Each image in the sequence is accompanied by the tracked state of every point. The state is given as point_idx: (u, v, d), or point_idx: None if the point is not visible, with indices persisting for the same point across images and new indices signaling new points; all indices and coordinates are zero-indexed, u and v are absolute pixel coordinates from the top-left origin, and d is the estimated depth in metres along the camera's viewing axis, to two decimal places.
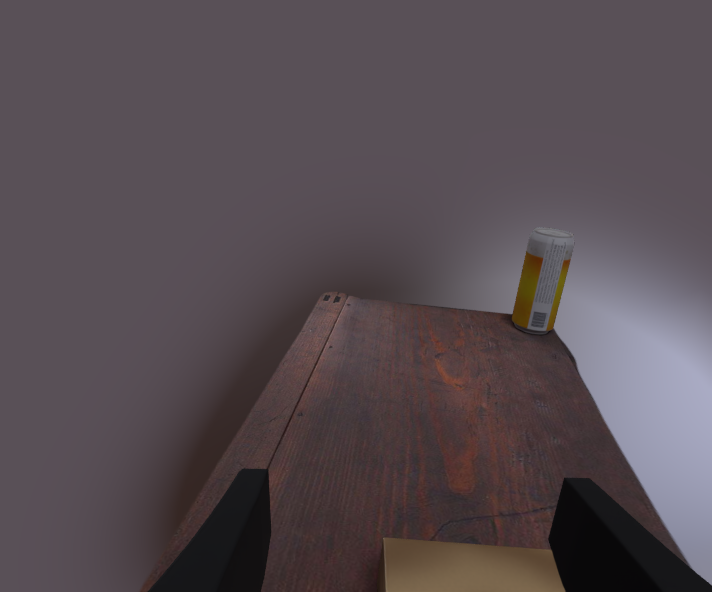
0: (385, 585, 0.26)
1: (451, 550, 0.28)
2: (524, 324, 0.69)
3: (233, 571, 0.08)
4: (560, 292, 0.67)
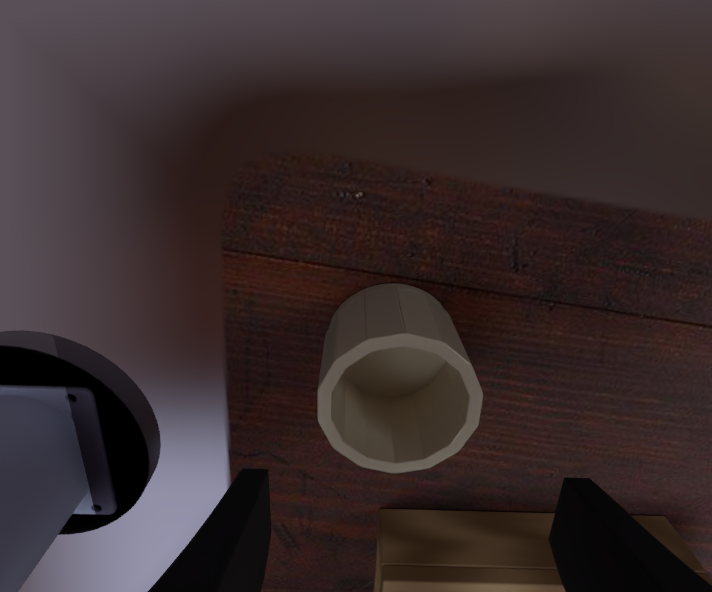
0: None
1: None
2: None
3: (233, 571, 0.08)
4: None
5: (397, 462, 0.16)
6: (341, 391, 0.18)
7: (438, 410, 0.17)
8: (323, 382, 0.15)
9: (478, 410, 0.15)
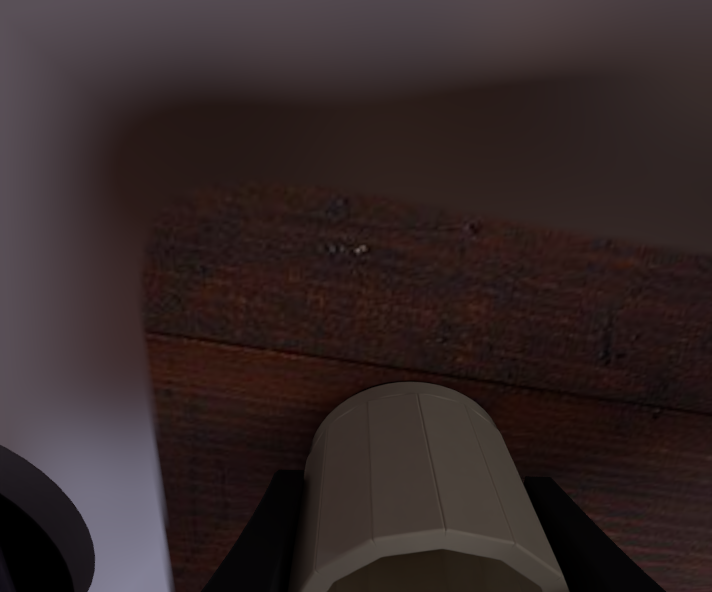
0: None
1: None
2: None
3: (280, 573, 0.08)
4: None
5: None
6: None
7: (486, 591, 0.11)
8: None
9: None
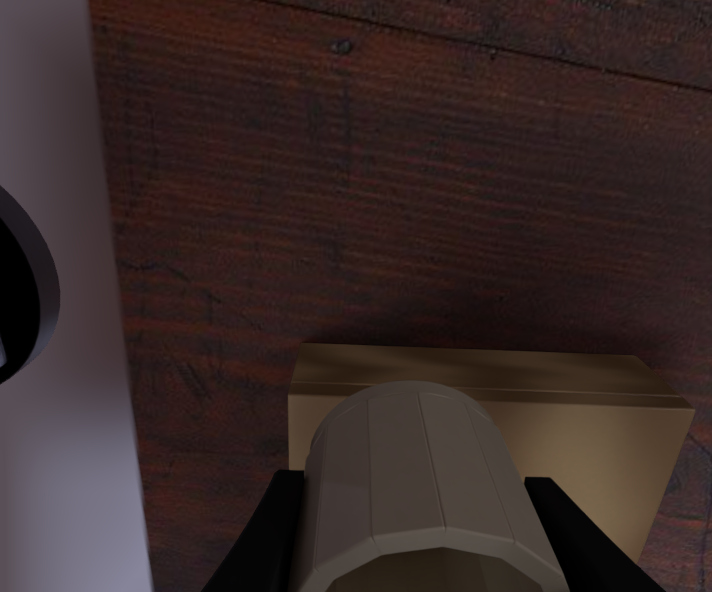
0: (605, 404, 0.16)
1: (646, 500, 0.17)
2: None
3: (279, 573, 0.08)
4: None
5: None
6: None
7: (486, 589, 0.11)
8: None
9: None
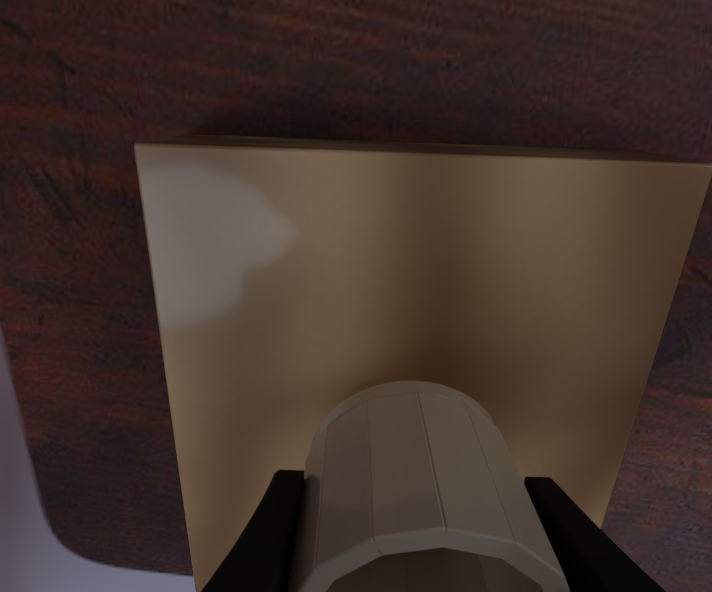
0: (586, 159, 0.11)
1: (645, 318, 0.13)
2: None
3: (280, 573, 0.08)
4: None
5: None
6: None
7: (486, 590, 0.11)
8: None
9: None
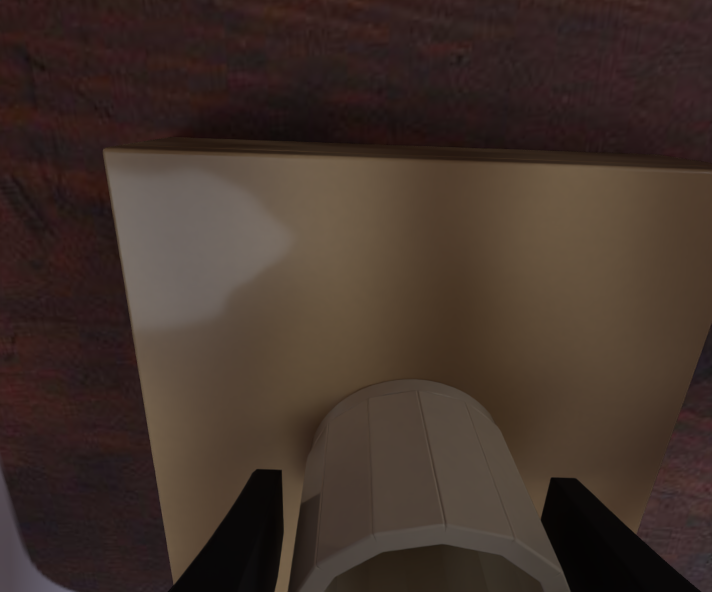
0: (618, 166, 0.10)
1: (680, 344, 0.11)
2: None
3: (251, 571, 0.08)
4: None
5: None
6: None
7: (485, 587, 0.11)
8: None
9: None
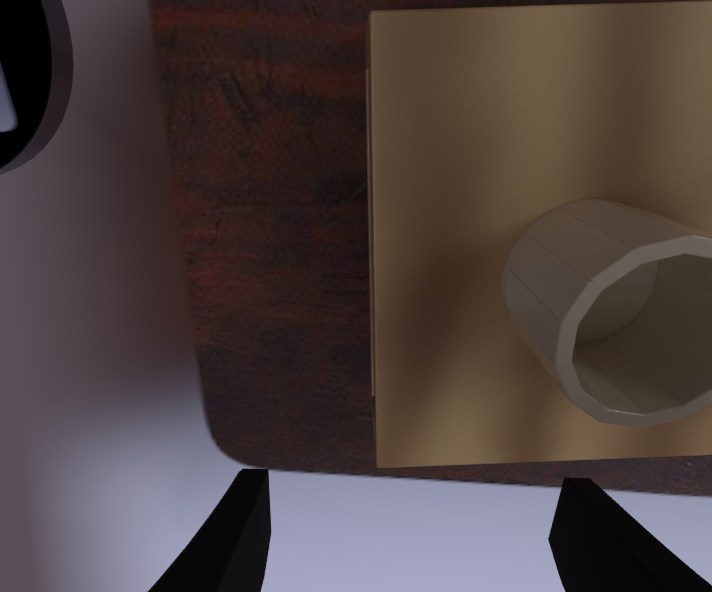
0: None
1: None
2: None
3: (233, 571, 0.08)
4: None
5: (643, 414, 0.13)
6: None
7: (668, 349, 0.14)
8: (570, 311, 0.11)
9: None
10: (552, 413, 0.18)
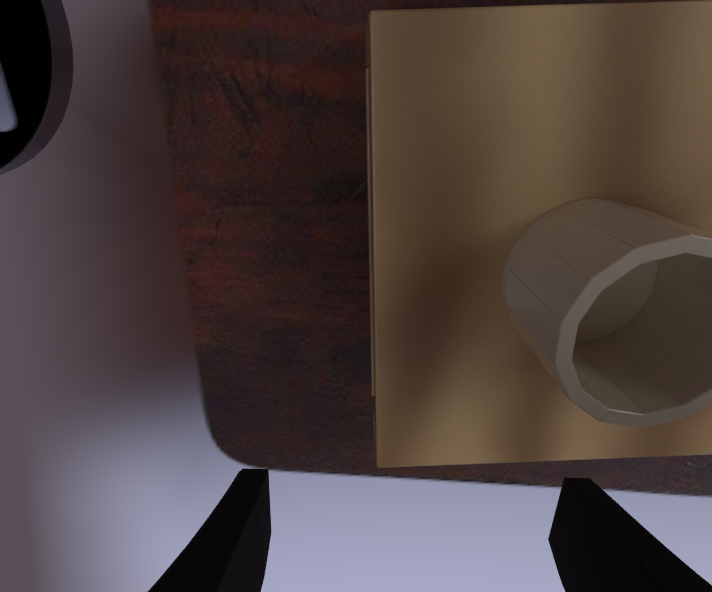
0: None
1: None
2: None
3: (233, 571, 0.08)
4: None
5: (644, 413, 0.13)
6: None
7: (668, 348, 0.14)
8: (570, 311, 0.11)
9: None
10: (552, 412, 0.18)
